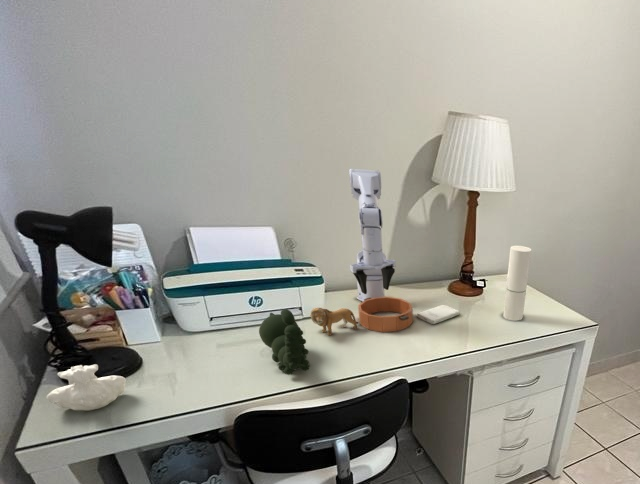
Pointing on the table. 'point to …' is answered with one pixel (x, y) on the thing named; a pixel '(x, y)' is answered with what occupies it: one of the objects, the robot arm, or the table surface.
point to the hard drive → (438, 314)
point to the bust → (86, 389)
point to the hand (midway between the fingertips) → (375, 290)
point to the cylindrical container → (516, 282)
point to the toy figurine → (285, 341)
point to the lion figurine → (332, 318)
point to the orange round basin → (386, 321)
